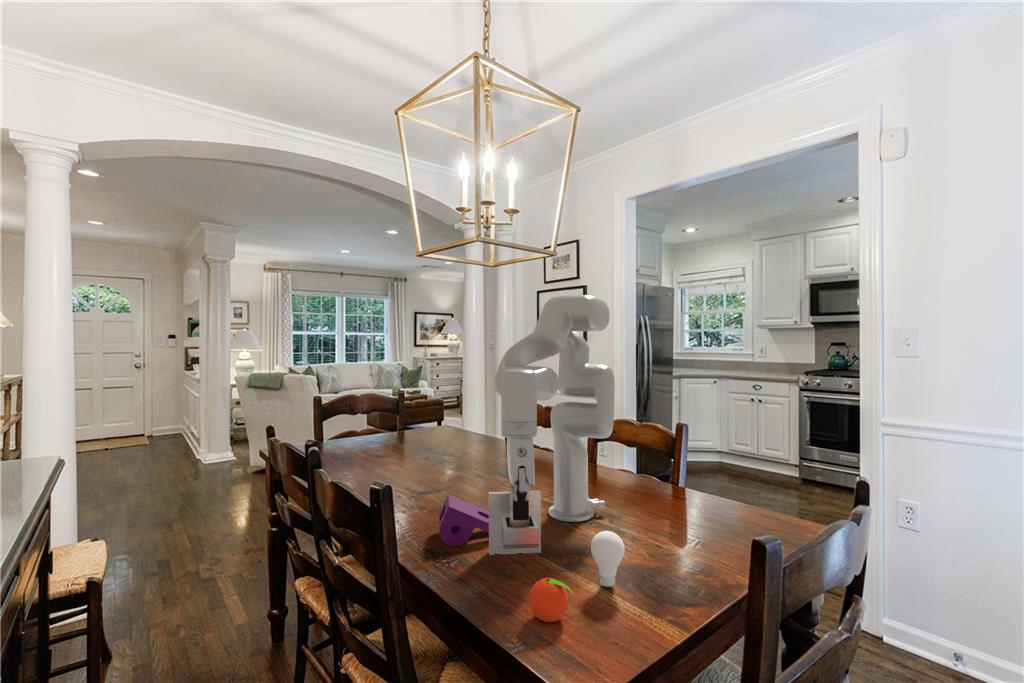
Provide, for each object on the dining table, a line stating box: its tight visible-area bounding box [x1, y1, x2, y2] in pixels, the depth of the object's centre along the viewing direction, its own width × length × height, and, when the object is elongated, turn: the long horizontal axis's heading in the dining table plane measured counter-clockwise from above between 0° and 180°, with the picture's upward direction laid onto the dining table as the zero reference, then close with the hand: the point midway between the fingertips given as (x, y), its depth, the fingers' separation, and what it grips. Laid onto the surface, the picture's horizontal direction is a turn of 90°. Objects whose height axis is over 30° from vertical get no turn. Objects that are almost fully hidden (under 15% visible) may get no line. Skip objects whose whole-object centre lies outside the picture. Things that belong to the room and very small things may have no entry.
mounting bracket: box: [438, 493, 489, 546], centre depth 122 cm, size 9×8×18 cm
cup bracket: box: [488, 489, 542, 556], centre depth 106 cm, size 12×15×14 cm
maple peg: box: [509, 480, 530, 527], centre depth 102 cm, size 4×4×12 cm
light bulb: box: [590, 530, 626, 589], centre depth 97 cm, size 7×7×11 cm
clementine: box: [528, 577, 575, 623], centre depth 86 cm, size 8×7×7 cm
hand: (519, 513), depth 102 cm, fingers open, 4 cm apart
